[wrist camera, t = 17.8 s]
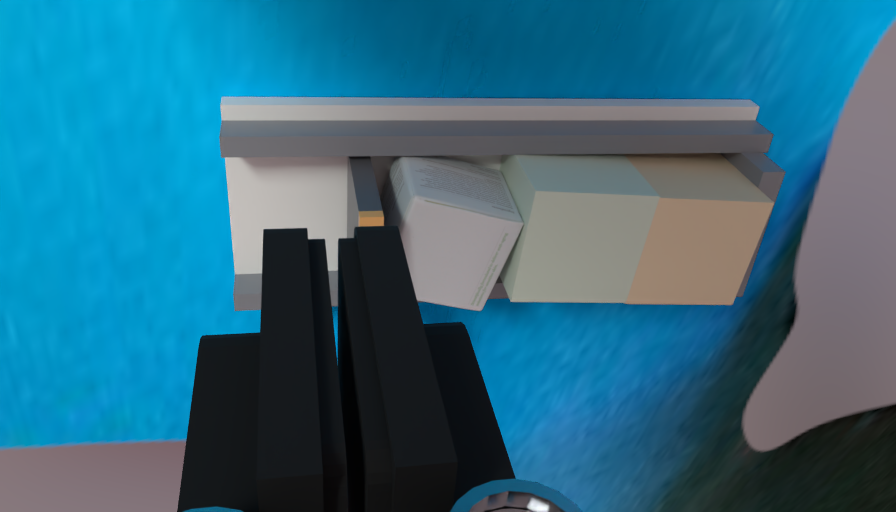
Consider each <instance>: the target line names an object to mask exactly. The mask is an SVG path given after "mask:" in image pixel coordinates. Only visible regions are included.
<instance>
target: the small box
mask: <svg viewBox="0 0 896 512" xmlns="http://www.w3.org/2000/svg"><path fill="white" fill-rule="evenodd" d="M380 201H381V206H382V210H383V214H384V226H398V228H399V231H400V235H401V239H402V243H403V247H404V251H405V255H406V259H407V263H408V267H409V271H410V275H411V279H412V283H413V287H414V290H415V294H416V298H417V300H418V301H424V302H429V303H435V304H440V305H446V306H451V307H457V308H462V309H469V310H476V311H481V310H482V309H483V307H484V305H485V303H486V301H487V299H488V297H489V295H490V293H491V291H492V289H493V287H494V285H495V283H496V281H497V279H498V277H499V275H500V273H501V271H502V268H503V266H504V264H505V262H506V260H507V258H508V256H509V254H510V252H511V250H512V248H513V246H514V244H515V242H516V240H517V237H518V235H519V233H520V231H521V229H522V227H523V226H524V222H523V220H522V218H521V215H520V213H519V211H518V209H517V206H516V204H515V202H514V200H513V197H512V195H511V193H510V190H509V188H508V186H507V184H506V181H505V179H504V177H503V174H502V173H501V172H500V171H498V170H494V169H490V168H486V167H483V166H479V165H475V164H471V163H467V162H464V161H460V160H456V159H453V158H449V157H445V156H442V155H441V156H396V157H395V159H394V162H393V165H392V167H391V170H390V173H389V175H388V178H387V181H386V184H385V186H384V189H383V192H382V195H381V197H380Z"/></svg>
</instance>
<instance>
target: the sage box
mask: <svg viewBox="0 0 896 512" xmlns="http://www.w3.org/2000/svg"><path fill="white" fill-rule="evenodd" d="M499 171H500V172H501V173H502V174H503V177H504V179H505V181H506V184H507V186H508V188H509V190H510V193H511V195H512V197H513V200H514V202H515V204H516V206H517V209H518V211H519V213H520V215H521V218H522V220H523V222H524V226H523V227H522V229H521V231H520V233H519V235H518V237H517V240H516V242H515V244H514V246H513V248H512V250H511V252H510V254H509V256H508V258H507V260H506V262H505V264H504V266H503V268H502V271H501V273H500V278H501V280H502V283H503V285H504V287H505V290H506V292H507V294H508V297H509V299H510V301H511V302H578V303H626V301H627V298H628V295H629V291H630V288H631V285H632V282H633V279H634V276H635V273H636V270H637V267H638V264H639V260H640V257H641V254H642V251H643V248H644V245H645V242H646V239H647V236H648V232H649V229H650V226H651V223H652V220H653V217H654V214H655V211H656V208H657V205H658V201H659V198H660V196H659V195H658V193H657V192H656V191H655V190H654V189H653V188H652V186H651V185H650V184H649V183H648V182H647V181H646V179H645V178H644V177H643V176H642V175H641V174H640V173H639V171H638V170H637V169H636V168H635V167H634V166H633V164H632V163H631V162H630V161H629V160H628V159H627V157H626V156H625V155H624V154H550V155H502V159H501V164H500V169H499Z"/></svg>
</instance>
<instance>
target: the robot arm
mask: <svg viewBox="0 0 896 512" xmlns="http://www.w3.org/2000/svg"><path fill="white" fill-rule="evenodd" d="M177 512H582V510H581V509H580V508H579V507H578V505H577V504H575V503H574V502H572V501H571V500H570V499H568V498H567V497H566V496H564V495H563V494H562V493H560V492H559V491H557V490H554V489H552V488H550V487H547V486H545V485H542V484H540V483H538V482H532V481H526V480H520V479H516V478H515V475H514V472H513V469H512V466H511V463H510V460H509V457H508V454H507V451H506V448H505V445H504V442H503V439H502V435H501V432H500V429H499V426H498V423H497V420H496V417H495V414H494V411H493V408H492V405H491V402H490V399H489V396H488V393H487V389H486V386H485V383H484V380H483V377H482V374H481V371H480V368H479V365H478V362H477V359H476V356H475V353H474V350H473V347H472V344H471V340H470V337H469V334H468V332H467V329H466V327H465V325H464V324H463V323H462V322H454V323H435V324H423V322H422V318H421V314H420V310H419V306H418V302H417V298H416V294H415V290H414V287H413V283H412V279H411V275H410V271H409V267H408V263H407V259H406V255H405V251H404V247H403V243H402V239H401V235H400V231H399V228H398V226H360V227H355V228H354V238H339V239H338V366H337V356H336V346H335V335H334V325H333V315H332V305H331V295H330V284H329V274H328V264H327V254H326V244H325V239H308V231H307V228H285V229H264V230H263V257H262V292H261V328H260V333H243V334H224V335H205V336H202V337H201V339H200V343H199V348H198V356H197V364H196V372H195V379H194V387H193V395H192V402H191V410H190V418H189V425H188V433H187V441H186V449H185V456H184V464H183V471H182V479H181V487H180V495H179V502H178V510H177Z"/></svg>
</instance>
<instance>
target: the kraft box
mask: <svg viewBox="0 0 896 512" xmlns="http://www.w3.org/2000/svg"><path fill="white" fill-rule="evenodd" d="M624 155H625V156H626V157H627V159H628V160H629V161H630V162H631V163H632V164H633V166H634V167H635V168H636V169H637V170H638V171H639V173H640V174H641V175H642V176H643V177H644V178H645V179H646V181H647V182H648V183H649V184H650V185H651V186H652V188H653V189H654V190H655V191H656V192H657V193H658V195H659V196H660V198H659V201H658V205H657V208H656V211H655V214H654V217H653V220H652V223H651V226H650V229H649V232H648V236H647V239H646V242H645V245H644V248H643V251H642V254H641V257H640V260H639V264H638V267H637V270H636V273H635V276H634V279H633V282H632V285H631V288H630V291H629V295H628V298H627V301H626V303H625V304H678V305H733V302H734V300H735V297H736V295H737V292H738V290H739V288H740V285H741V283H742V280H743V278H744V275H745V273H746V271H747V268H748V266H749V263H750V261H751V258H752V256H753V254H754V251H755V249H756V246H757V244H758V241H759V239H760V237H761V234H762V232H763V229H764V227H765V224H766V222H767V220H768V217H769V215H770V212H771V210H772V207H773V205H774V202H773V201H772V200H771V199H770V198H768V197H767V196H766V195H765V194H764V193H763V192H762V191H761V190H760V189H759V188H757V187H756V186H755V185H754V184H753V183H752V182H751V181H750V180H749V179H748V178H746V177H745V176H744V175H743V174H742V173H741V172H740V171H739V170H738V169H737V168H735V167H734V166H733V165H732V164H731V163H730V162H729V161H728V160H727V159H726V158H725V157H723V156H722V155H721V154H720V153H658V154H624Z"/></svg>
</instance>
